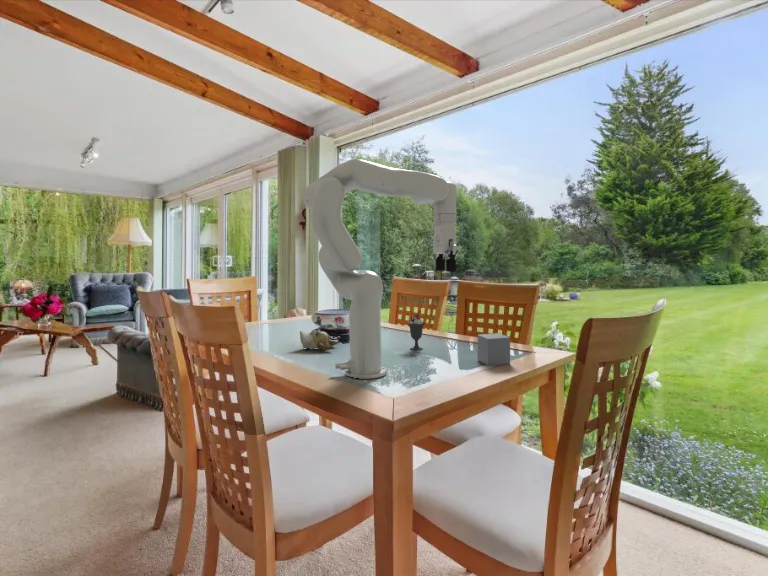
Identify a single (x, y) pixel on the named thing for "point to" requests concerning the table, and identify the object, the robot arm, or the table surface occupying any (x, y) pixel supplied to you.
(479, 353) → the grey matte cube
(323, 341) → the ceramic sculpture
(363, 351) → the robot arm
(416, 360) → the table surface
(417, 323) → the sundae
